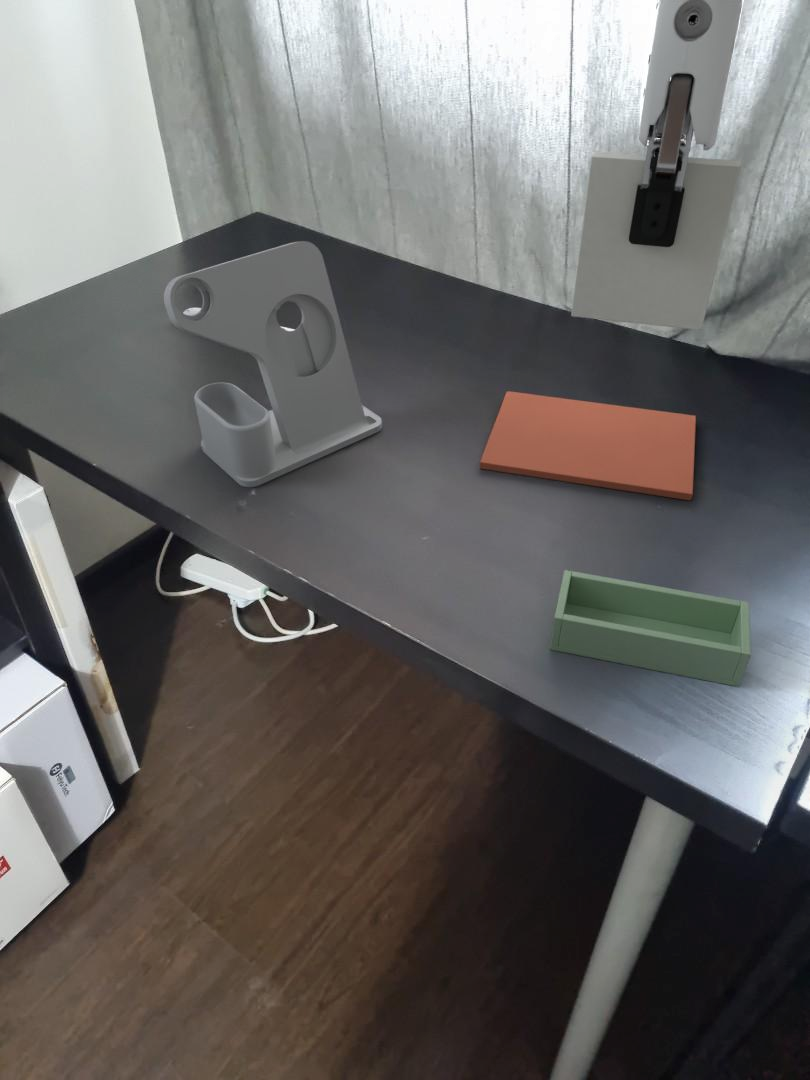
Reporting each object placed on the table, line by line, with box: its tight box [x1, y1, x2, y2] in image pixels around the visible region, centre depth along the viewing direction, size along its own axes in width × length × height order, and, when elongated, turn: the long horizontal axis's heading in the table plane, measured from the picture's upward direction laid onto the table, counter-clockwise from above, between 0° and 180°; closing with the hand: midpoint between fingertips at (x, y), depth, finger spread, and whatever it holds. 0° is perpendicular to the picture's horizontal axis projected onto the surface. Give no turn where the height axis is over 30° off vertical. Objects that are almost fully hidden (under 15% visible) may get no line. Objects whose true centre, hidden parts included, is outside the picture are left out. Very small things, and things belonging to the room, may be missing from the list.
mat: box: [479, 391, 697, 502], centre depth 83 cm, size 20×14×1 cm
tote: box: [549, 569, 752, 688], centre depth 62 cm, size 14×5×4 cm, turn 74°
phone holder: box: [163, 240, 383, 488], centre depth 80 cm, size 17×10×18 cm, turn 129°
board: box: [570, 150, 742, 331], centre depth 61 cm, size 10×1×12 cm, turn 75°
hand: (651, 237), depth 61 cm, fingers closed on board, 1 cm apart
